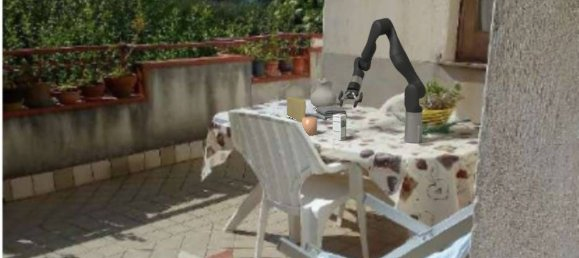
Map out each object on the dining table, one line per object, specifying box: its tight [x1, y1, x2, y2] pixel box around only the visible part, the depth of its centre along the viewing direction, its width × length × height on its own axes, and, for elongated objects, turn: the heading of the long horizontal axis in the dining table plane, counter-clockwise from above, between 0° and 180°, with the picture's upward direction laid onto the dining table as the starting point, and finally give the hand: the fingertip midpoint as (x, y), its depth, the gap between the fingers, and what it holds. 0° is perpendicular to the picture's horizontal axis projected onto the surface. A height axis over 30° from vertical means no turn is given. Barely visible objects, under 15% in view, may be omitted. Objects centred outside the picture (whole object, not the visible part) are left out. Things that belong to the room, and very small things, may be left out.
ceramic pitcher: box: [309, 75, 337, 109], centre depth 429 cm, size 22×20×25 cm
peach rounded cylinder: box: [301, 116, 318, 137], centre depth 344 cm, size 9×9×10 cm
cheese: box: [286, 96, 307, 123], centre depth 387 cm, size 22×10×15 cm, turn 19°
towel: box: [315, 104, 348, 121], centre depth 397 cm, size 15×18×8 cm
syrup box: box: [332, 113, 347, 141], centre depth 331 cm, size 6×6×14 cm
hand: (347, 106), depth 339 cm, fingers open, 8 cm apart
